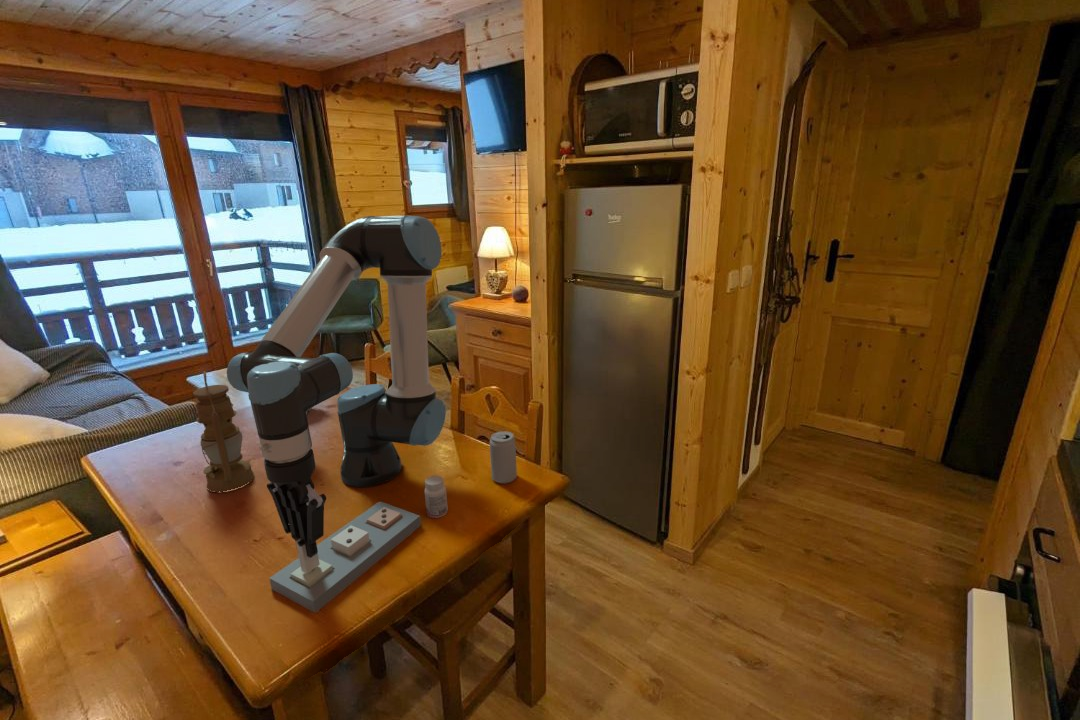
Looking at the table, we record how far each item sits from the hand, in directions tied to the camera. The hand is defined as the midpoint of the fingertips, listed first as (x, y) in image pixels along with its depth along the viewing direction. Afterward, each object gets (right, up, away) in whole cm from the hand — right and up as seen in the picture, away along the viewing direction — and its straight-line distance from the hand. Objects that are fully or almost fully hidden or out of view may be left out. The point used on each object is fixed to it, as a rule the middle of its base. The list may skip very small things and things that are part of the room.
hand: (310, 567), depth 90 cm
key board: (+4, -1, +9) cm, 10 cm away
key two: (+4, +1, +8) cm, 9 cm away
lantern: (-37, +7, +36) cm, 52 cm away
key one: (0, -3, +1) cm, 3 cm away
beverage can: (+33, +8, +35) cm, 49 cm away
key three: (+9, +2, +16) cm, 18 cm away
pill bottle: (+19, +3, +22) cm, 29 cm away
